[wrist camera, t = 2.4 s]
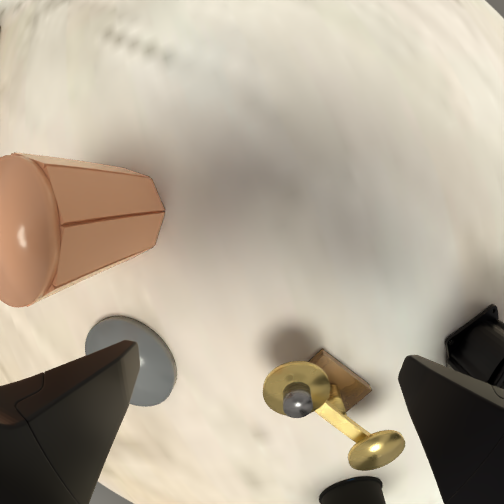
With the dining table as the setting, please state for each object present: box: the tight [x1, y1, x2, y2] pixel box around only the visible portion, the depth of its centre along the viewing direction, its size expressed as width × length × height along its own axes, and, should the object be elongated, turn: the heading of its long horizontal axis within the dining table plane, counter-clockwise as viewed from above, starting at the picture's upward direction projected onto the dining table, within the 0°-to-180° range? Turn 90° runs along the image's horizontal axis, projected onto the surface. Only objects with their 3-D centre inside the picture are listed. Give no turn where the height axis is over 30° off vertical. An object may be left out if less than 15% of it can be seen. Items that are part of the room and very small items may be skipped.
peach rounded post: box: [0, 153, 165, 307], centre depth 15 cm, size 7×7×12 cm
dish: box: [85, 316, 177, 406], centre depth 23 cm, size 9×9×1 cm
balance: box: [263, 349, 405, 471], centre depth 19 cm, size 13×4×6 cm, turn 50°
